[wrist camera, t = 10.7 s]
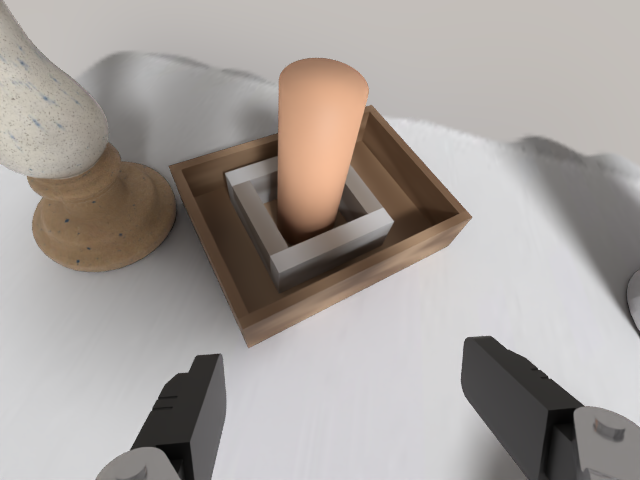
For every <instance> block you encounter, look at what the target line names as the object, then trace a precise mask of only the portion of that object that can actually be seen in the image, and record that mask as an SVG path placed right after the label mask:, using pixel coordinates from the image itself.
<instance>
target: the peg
mask: <svg viewBox="0 0 640 480" xmlns="http://www.w3.org/2000/svg"><path fill="white" fill-rule="evenodd" d="M368 93H369V88H368V84H367V82H366V80H365V79H364V77H363V76H362V75H361V74H360V73H359V72H358V71H356V70H355V69H353V68H352V67H350V66H348V65H346V64H344V63H342V62H339V61H336V60H331V59H326V58H307V59H302V60H298V61H296V62H293V63H291V64H290V65H288V66H287V67H286V68H285V69H284V70H283V71H282V72H281V74H280V77H279V111H278V191H277V228H278V230H279V232H280V233H281V235H282V237H283V238H284V239H285V240H286V241H287V242H288V243H290V244H292V245H297V244H299V243H301V242H304V241H306V240H308V239H311V238H313V237H315V236H318V235H320V234H322V233H325V232H327V231H330V230H332V229H333V227H334V223H335V219H336V216H337V212H338V208H339V204H340V200H341V197H342V193H343V189H344V185H345V181H346V178H347V174H348V170H349V166H350V162H351V159H352V155H353V151H354V147H355V143H356V140H357V136H358V132H359V128H360V125H361V121H362V117H363V113H364V109H365V106H366V102H367V98H368Z"/></svg>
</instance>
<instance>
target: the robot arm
mask: <svg viewBox="0 0 640 480" xmlns="http://www.w3.org/2000/svg"><path fill="white" fill-rule="evenodd" d="M627 301H628V305H629V309H630V313H631V315H632V317H633V319H634V322H635V324H636V326H637V328H638V329H639V331H640V270H638V271H637V272H636V273H634V275H633V276H632V278H631V279H630V280H629V284H628V288H627ZM461 385H462V389H463V392H464V395H465V397H466V398H467V400H468V401H469V403H470V404H471V405H472V406H473V408H474V409H475V410H476V412H477V413H478V414H479V416H480V417H481V418H482V419H483V421H484V422H485V423H486V425H487V426H488V427H489V429H490V430H491V431H492V432H493V434H494V435H495V436H496V438H497V439H498V440H499V442H500V443H501V444H502V446H503V447H504V448H505V449H506V451H507V452H508V453H509V455H510V456H511V457H512V459H513V460H514V461H515V462H516V464H517V465H518V466H519V468H520V469H521V470H522V472H523V473H524V474H525V475H526V477H527V478H528V479H529V480H640V427H639V426H637V425H636V424H635V423H634V422H632V421H630V420H629V419H627V418H625V417H624V416H622V415H619V414H617V413H615V412H612V411H609V410H606V409H603V408H598V407H590V406H586V407H585V406H584V405H583V404H581V403H580V402H579V401H578V400H576V399H575V398H574V397H573V396H571V395H570V394H569V393H568V392H567V391H565V390H564V389H563V388H562V387H560V386H559V385H558V384H557V383H556V382H554V381H553V380H552V379H549V378H548V376H547V375H546V374H545V373H543V372H542V371H541V370H538V368H537V367H536V366H535V365H533V364H532V363H531V362H530V361H529V360H527V359H526V358H525V357H523V356H521V355H518V354H516V353H514V352H512V351H510V350H507V349H506V348H505V347H504V346H503V345H501V344H500V343H499V342H498V341H497V340H495V339H494V338H493V337H491V336H479V337H467V338H466V339H465V341H464V348H463V360H462V372H461ZM225 416H226V389H225V378H224V367H223V358H222V355H221V354H210V355H197V356H196V357H195V359H194V361H193V364H192V366H191V368H190V370H189V372H188V373H178V374H177V375H175V376H174V377H173V378H172V379H171V380H170V381H169V382H168V383H166V384H165V386H164V388H163V389H162V391H161V393H160V395H159V397H158V400H157V401H156V403H155V404H154V406H153V408H152V411H151V412H150V414H149V416H148V418H147V419H146V421H145V423H144V425H143V427H142V429H141V431H140V432H139V434H138V436H137V438H136V440H135V442H134V444H133V446H132V447H131V449H130V451H128V452H126V453H123V454H122V455H120V456H118V457H116V458H115V459H114V460H112V461H111V462H110V463H109V464H107V465H106V466H105V467H104V468H103V469H102V470H101V472H100V473H99V474H98V476H97V478H96V479H95V480H211V477H212V473H213V469H214V464H215V460H216V456H217V451H218V447H219V443H220V438H221V434H222V430H223V425H224V421H225Z"/></svg>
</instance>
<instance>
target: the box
mask: <svg viewBox="0 0 640 480" xmlns="http://www.w3.org/2000/svg"><path fill="white" fill-rule="evenodd" d="M169 168H170V171H171V173H172V176H173V179H174V181H175V184H176V186H177V189H178V191H179V194H180V196H181V199H182V202H183V204H184V206H185V208H186V210H187V213H188V215H189V217H190V219H191V222H192V224H193V226H194V228H195V231H196V233H197V235H198V237H199V239H200V242H201V244H202V246H203V248H204V251H205V253H206V255H207V257H208V259H209V262H210V264H211V266H212V268H213V271H214V273H215V275H216V277H217V279H218V282H219V284H220V286H221V288H222V291H223V293H224V295H225V297H226V299H227V302H228V304H229V306H230V308H231V311H232V313H233V315H234V317H235V320H236V322H237V324H238V326H239V328H240V331H241V333H242V335H243V337H244V340H245V342H246V344H247V346H248V348H250V347H252V346H254V345H256V344H258V343H260V342H261V341H263V340H265V339H267V338H269V337H271V336H273V335H275V334H277V333H279V332H281V331H283V330H285V329H287V328H289V327H291V326H293V325H295V324H297V323H299V322H301V321H303V320H304V319H306V318H308V317H310V316H312V315H314V314H316V313H318V312H320V311H322V310H324V309H326V308H328V307H330V306H332V305H334V304H336V303H338V302H340V301H342V300H344V299H346V298H347V297H349V296H351V295H353V294H355V293H357V292H359V291H361V290H363V289H365V288H367V287H369V286H371V285H373V284H375V283H377V282H379V281H381V280H383V279H385V278H387V277H389V276H390V275H392V274H394V273H396V272H398V271H400V270H402V269H404V268H406V267H408V266H410V265H412V264H414V263H416V262H418V261H420V260H422V259H424V258H426V257H428V256H430V255H432V254H433V253H435V252H437V251H439V250H441V249H443V248H445V247H447V246H449V244H450V243H451V242H452V241H453V240H454V238H455V237H456V236H457V235H458V234H459V232H460V231H461V230H462V229H463V228H464V226H465V225H466V224H467V223H468V222H469V220H470V219H471V218H472V216H471V215H470V214H469V213H468V212H467V211H466V209H465V208H464V207H463V206H462V205H461V204H460V203H459V202H458V201H457V199H456V198H455V197H454V196H453V195H452V194H451V193H450V192H449V191H448V189H447V188H446V187H445V186H444V185H443V184H442V183H441V182H440V181H439V179H438V178H437V177H436V176H435V175H434V174H433V173H432V172H431V170H430V169H429V168H428V167H427V166H426V165H425V164H424V163H423V162H422V160H421V159H420V158H419V157H418V156H417V155H416V154H415V153H414V152H413V150H412V149H411V148H410V147H409V146H408V145H407V144H406V143H405V142H404V140H403V139H402V138H401V137H400V136H399V135H398V134H397V133H396V131H395V130H394V129H393V128H392V127H391V126H390V125H389V124H388V123H387V121H386V120H385V119H384V118H383V117H382V116H381V115H380V114H379V113H378V112H377V110H376V109H375V108H374V107H373V106H372V105H370V106H366V107H365V109H364V113H363V117H362V121H361V125H360V128H359V132H358V136H357V140H356V143H355V147H354V151H353V155H352V159H351V162H350V166H349V170H348V174H347V178H346V181H345V185H344V189H343V193H342V197H341V200H340V204H339V208H338V212H337V216H336V219H335V223H334V227H333V229H332V230H330V231H327V232H325V233H322V234H320V235H318V236H315V237H313V238H311V239H308V240H306V241H304V242H301V243H299V244H297V245H292V244H290V243H288V242H287V241H286V240H285V239H284V238H283V237H282V235H281V233H280V232H279V230H278V228H277V191H278V133H277V134H273V135H270V136H267V137H263V138H260V139H257V140H254V141H250V142H247V143H244V144H240V145H237V146H234V147H230V148H227V149H224V150H220V151H217V152H214V153H210V154H207V155H204V156H200V157H197V158H194V159H190V160H187V161H184V162H180V163H177V164H174V165H170V166H169Z"/></svg>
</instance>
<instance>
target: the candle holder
mask: <svg viewBox="0 0 640 480" xmlns="http://www.w3.org/2000/svg"><path fill="white" fill-rule="evenodd" d="M108 135H109V129H108V122H107V119H106V116H105V114H104V112H103V110H102V108H101V107H100V105H99V104H98V103H97V101H96V100H95V99H94V98H93V96H92V95H91V94H90V93H89V92H87V91H86V90H85V89H84V88H83V87H82V86H81V85H80V84H79V83H78V82H76V81H75V80H74V79H73V78H71V77H70V76H69V75H68V74H66V73H65V72H63V71H62V70H61V69H60V68H58V67H57V66H56V65H54V64H53V63H52V62H51V61H50V60H49V59H48V58H47V57H46V56H45V55H44V54H43V53H42V52H40V51H39V50H38V49H37V47H36V46H35V45H34V44H33V43H32V41H31V40H30V39H29V38H28V37H27V35H26V34H25V32H24V31H23V29H22V28H21V27H20V25H19V24H18V22H17V21H16V19H15V18H14V16H13V15H12V13H11V12H10V10H9V9H8V7H7V6H6V4H5V2H4V1H3V0H0V164H1V165H3V166H5V167H6V168H8V169H10V170H12V171H14V172H17V173H20V174H23V175H26V176H27V180H28V183H29V185H30V187H31V188H32V189H33V190H34V191H35V192H36V193H38V194H39V195H40V196H42V199H41V200H40V202H39V203H38V205H37V208H36V210H35V212H34V216H33V220H32V230H33V235H34V238H35V240H36V242H37V244H38V246H39V247H40V249H41V250H42V251H43V252H44V253H45V254H46V255H47V256H48V257H50V258H51V259H52V260H53V261H55V262H57V263H58V264H60V265H62V266H64V267H67V268H70V269H73V270H77V271H85V272H101V271H109V270H114V269H118V268H122V267H124V266H127V265H130V264H132V263H134V262H136V261H138V260H140V259H142V258H144V257H145V256H147V255H148V254H149V253H151V252H152V251H153V250H155V249H156V248H157V247H158V246H159V245H160V244H161V243H162V242H163V240H164V239H165V238H166V237H167V235H168V234H169V232H170V230H171V229H172V226H173V224H174V221H175V217H176V201H175V196H174V193H173V191H172V189H171V187H170V185H169V184H168V182H167V181H166V180H165V178H164V177H163V176H161V175H160V174H159V173H158V172H156V171H155V170H153V169H151V168H149V167H147V166H144V165H141V164H137V163H132V162H122V161H121V157H120V155H119V152H118V151H117V149H116V148H115V147H114V146H113V145H112V144H110V143H109V142H108Z"/></svg>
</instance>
